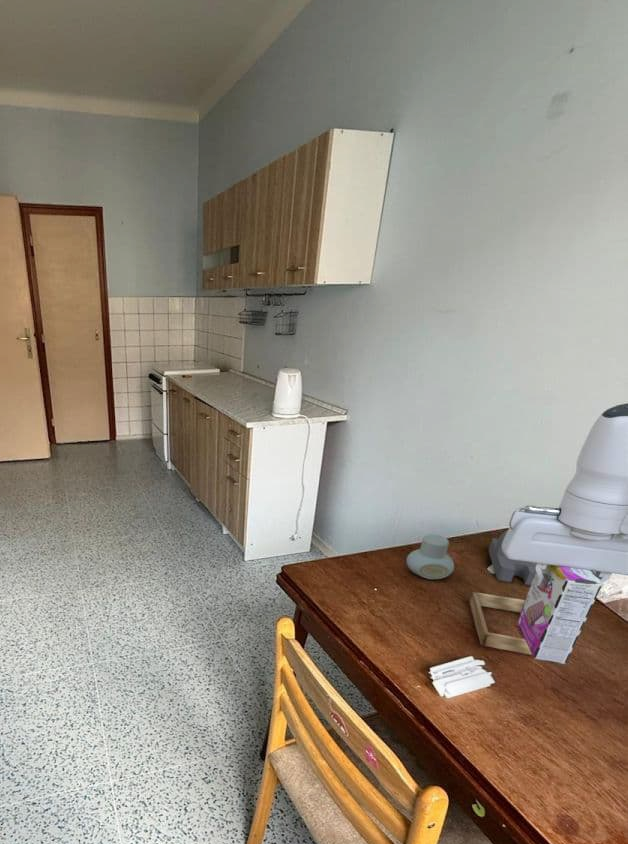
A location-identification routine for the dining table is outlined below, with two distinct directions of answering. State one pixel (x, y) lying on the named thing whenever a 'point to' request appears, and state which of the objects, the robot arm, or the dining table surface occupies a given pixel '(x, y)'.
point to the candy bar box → (558, 612)
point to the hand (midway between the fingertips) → (562, 588)
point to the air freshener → (431, 558)
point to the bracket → (509, 564)
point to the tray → (484, 635)
